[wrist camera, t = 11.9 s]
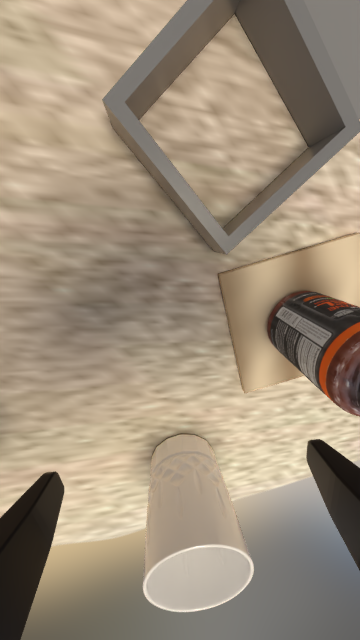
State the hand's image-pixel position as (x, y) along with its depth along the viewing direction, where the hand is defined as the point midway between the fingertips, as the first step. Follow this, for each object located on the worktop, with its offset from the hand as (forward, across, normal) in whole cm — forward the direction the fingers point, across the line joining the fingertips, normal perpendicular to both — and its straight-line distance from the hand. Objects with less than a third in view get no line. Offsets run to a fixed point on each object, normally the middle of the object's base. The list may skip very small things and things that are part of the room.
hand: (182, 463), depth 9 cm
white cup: (+13, +2, +16) cm, 20 cm away
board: (+14, -11, +2) cm, 18 cm away
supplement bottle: (+14, -10, +2) cm, 17 cm away
